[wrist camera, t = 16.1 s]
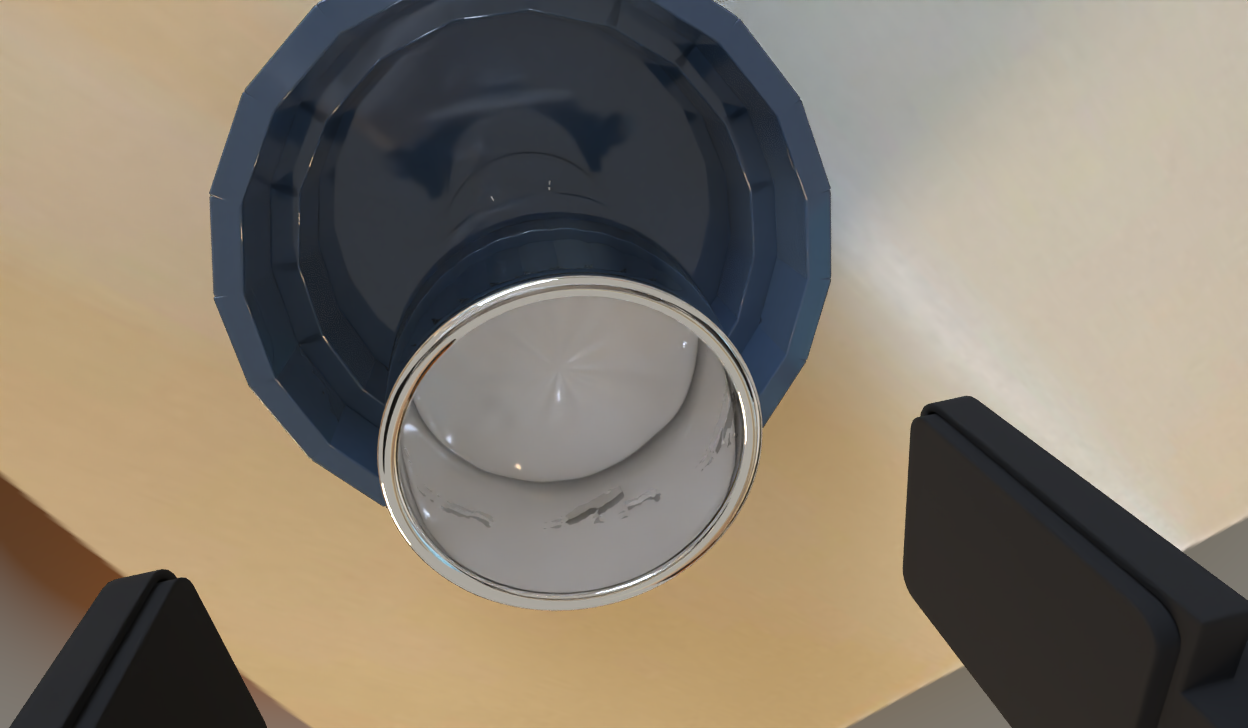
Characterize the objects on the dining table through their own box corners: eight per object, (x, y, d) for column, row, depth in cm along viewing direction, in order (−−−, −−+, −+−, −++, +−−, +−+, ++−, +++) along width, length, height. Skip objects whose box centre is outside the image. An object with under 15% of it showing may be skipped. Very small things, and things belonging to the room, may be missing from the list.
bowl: (358, 484, 29) (328, 585, 24) (188, 2, 22) (88, -10, 16) (773, 399, 31) (833, 476, 25) (751, -74, 23) (830, -108, 18)
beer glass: (664, 257, 27) (841, 479, 13) (515, 365, 27) (539, 679, 14) (551, 94, 24) (630, 169, 10) (388, 220, 24) (263, 442, 11)
